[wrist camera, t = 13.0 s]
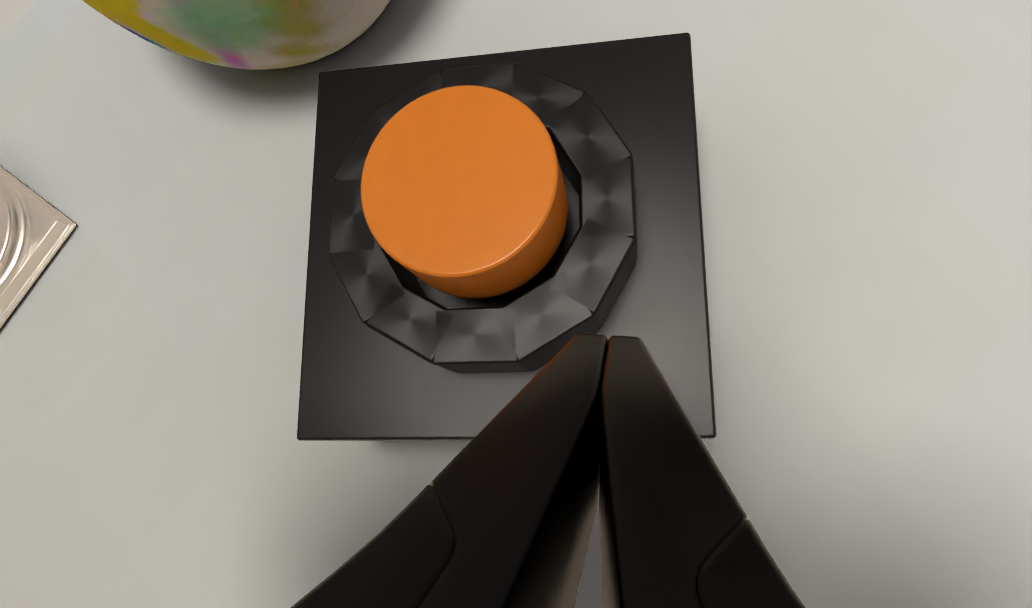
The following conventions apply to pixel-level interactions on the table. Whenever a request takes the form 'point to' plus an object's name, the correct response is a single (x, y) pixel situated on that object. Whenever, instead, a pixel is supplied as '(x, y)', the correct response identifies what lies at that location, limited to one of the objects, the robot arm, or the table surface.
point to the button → (466, 191)
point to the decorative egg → (245, 28)
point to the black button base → (546, 297)
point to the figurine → (25, 239)
